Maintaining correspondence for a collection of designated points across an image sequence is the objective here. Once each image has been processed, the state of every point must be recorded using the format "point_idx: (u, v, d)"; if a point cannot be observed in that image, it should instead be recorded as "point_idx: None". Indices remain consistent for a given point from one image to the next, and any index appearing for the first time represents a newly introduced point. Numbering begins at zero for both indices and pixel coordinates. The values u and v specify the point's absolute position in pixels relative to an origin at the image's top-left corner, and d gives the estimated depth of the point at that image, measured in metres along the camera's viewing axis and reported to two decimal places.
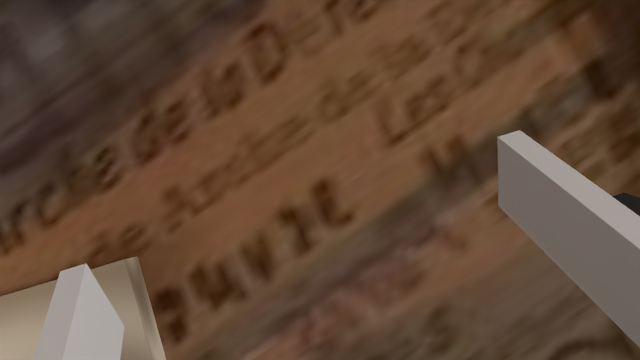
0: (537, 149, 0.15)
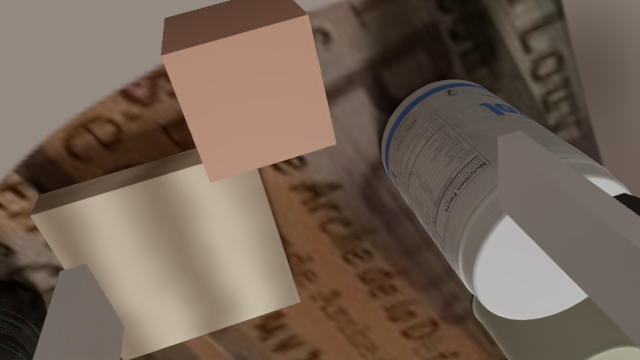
0: (537, 149, 0.15)
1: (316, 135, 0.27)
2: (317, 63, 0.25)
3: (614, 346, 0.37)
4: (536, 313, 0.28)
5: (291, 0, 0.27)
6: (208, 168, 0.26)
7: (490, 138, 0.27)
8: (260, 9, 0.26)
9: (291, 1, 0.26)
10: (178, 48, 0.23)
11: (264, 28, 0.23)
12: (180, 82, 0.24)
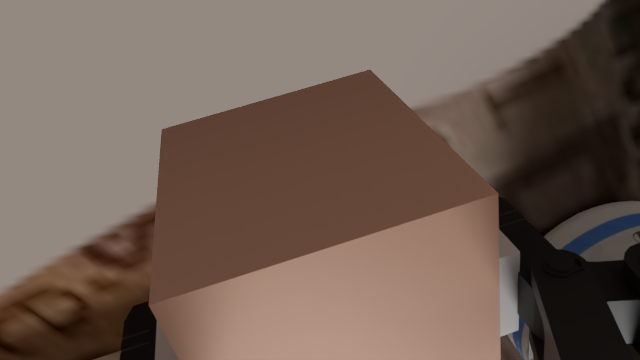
0: None
1: None
2: (496, 281, 0.11)
3: None
4: None
5: (419, 121, 0.13)
6: None
7: None
8: (357, 141, 0.13)
9: (421, 125, 0.13)
10: (191, 277, 0.10)
11: (395, 229, 0.10)
12: (195, 347, 0.10)
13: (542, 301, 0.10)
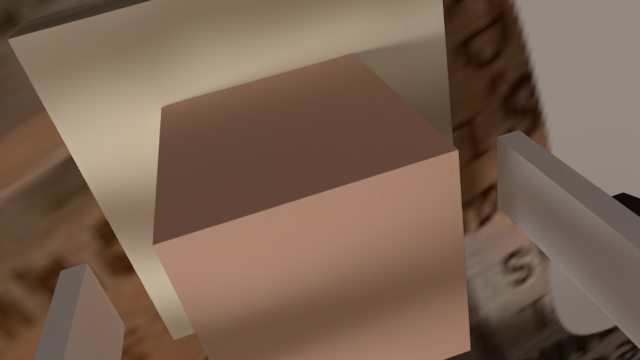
0: (535, 149, 0.15)
1: (439, 342, 0.15)
2: (460, 232, 0.13)
3: None
4: None
5: (394, 94, 0.14)
6: None
7: None
8: (338, 112, 0.14)
9: (396, 97, 0.14)
10: (189, 223, 0.11)
11: (368, 180, 0.11)
12: (193, 287, 0.11)
13: None
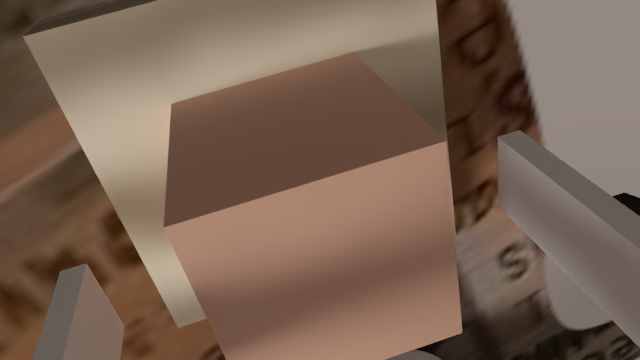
0: (537, 149, 0.15)
1: (431, 324, 0.15)
2: (450, 219, 0.13)
3: None
4: None
5: (390, 90, 0.15)
6: None
7: None
8: (337, 107, 0.15)
9: (391, 93, 0.15)
10: (197, 207, 0.12)
11: (363, 169, 0.12)
12: (200, 267, 0.12)
13: None
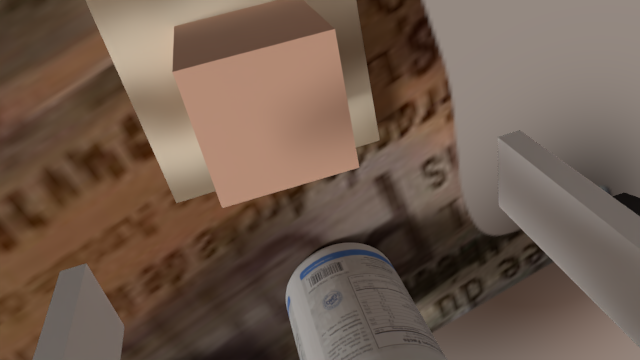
0: (537, 148, 0.15)
1: (338, 158, 0.25)
2: (342, 81, 0.23)
3: None
4: None
5: (313, 11, 0.24)
6: (220, 192, 0.24)
7: None
8: (279, 20, 0.24)
9: (313, 12, 0.24)
10: (191, 63, 0.21)
11: (286, 43, 0.21)
12: (193, 100, 0.21)
13: None
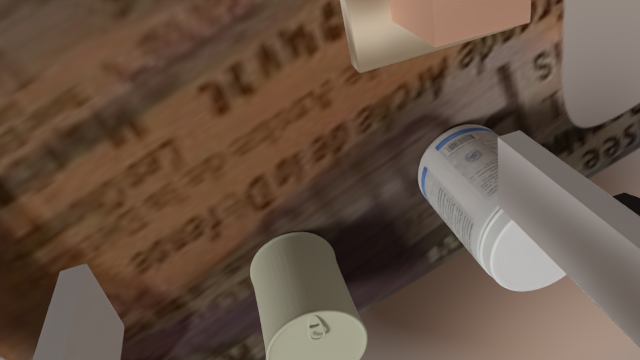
0: (537, 149, 0.15)
1: (517, 13, 0.34)
2: None
3: None
4: (498, 251, 0.39)
5: None
6: (436, 34, 0.33)
7: None
8: None
9: None
10: None
11: None
12: None
13: None
